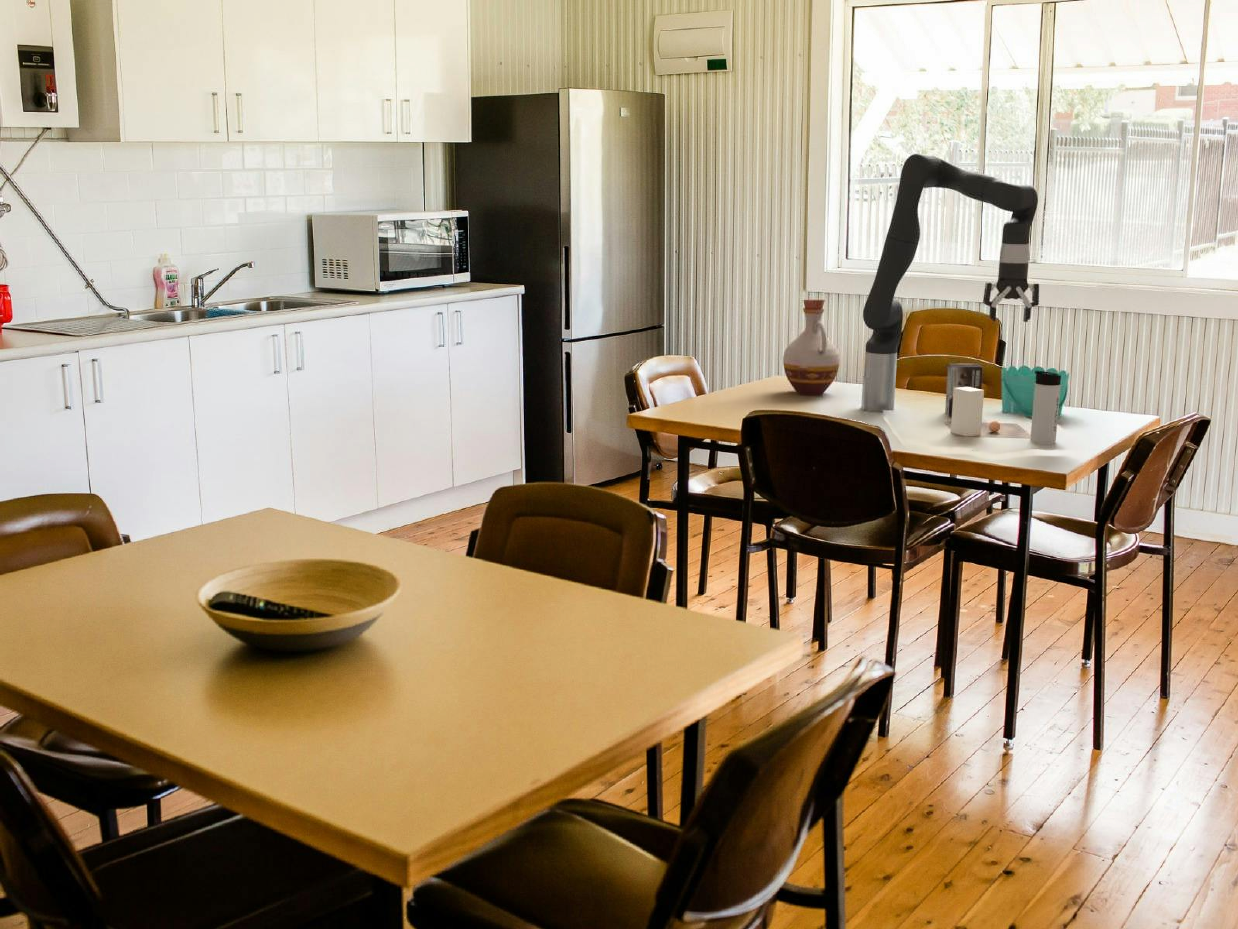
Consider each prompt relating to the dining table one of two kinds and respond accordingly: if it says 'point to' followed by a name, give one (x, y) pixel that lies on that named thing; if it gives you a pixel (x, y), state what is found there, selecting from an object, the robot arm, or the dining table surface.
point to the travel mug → (1045, 407)
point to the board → (1000, 431)
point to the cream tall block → (967, 411)
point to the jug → (811, 355)
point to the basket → (1026, 389)
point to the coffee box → (961, 380)
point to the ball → (994, 426)
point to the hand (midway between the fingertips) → (1009, 321)
